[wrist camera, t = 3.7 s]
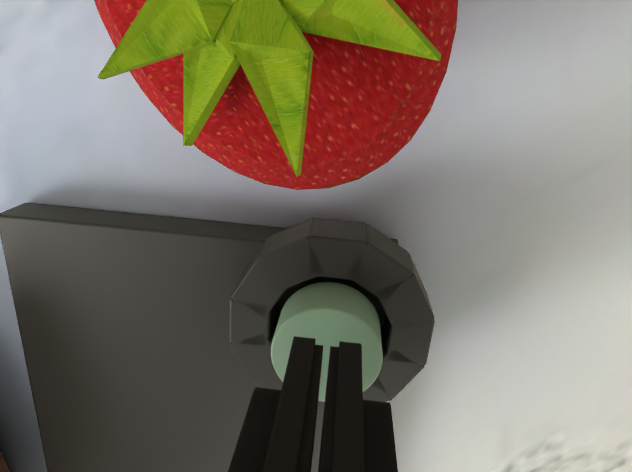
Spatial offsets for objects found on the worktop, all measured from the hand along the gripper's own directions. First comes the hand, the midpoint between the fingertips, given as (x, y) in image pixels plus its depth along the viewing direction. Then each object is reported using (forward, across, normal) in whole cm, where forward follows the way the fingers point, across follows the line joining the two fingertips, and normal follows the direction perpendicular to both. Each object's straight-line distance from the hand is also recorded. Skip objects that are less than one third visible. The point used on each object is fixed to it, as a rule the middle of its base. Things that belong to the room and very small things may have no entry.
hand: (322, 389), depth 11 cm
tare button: (+3, 0, 0) cm, 3 cm away
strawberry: (+5, +2, -9) cm, 10 cm away
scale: (+5, +4, +4) cm, 8 cm away
